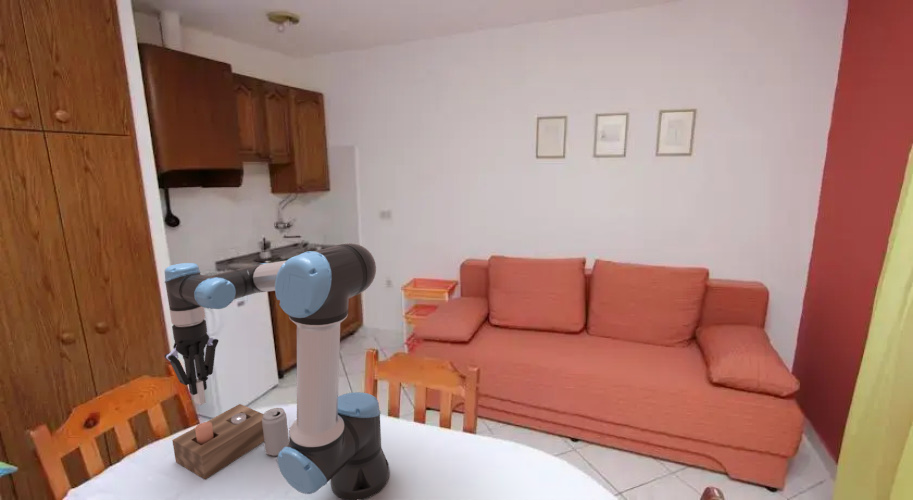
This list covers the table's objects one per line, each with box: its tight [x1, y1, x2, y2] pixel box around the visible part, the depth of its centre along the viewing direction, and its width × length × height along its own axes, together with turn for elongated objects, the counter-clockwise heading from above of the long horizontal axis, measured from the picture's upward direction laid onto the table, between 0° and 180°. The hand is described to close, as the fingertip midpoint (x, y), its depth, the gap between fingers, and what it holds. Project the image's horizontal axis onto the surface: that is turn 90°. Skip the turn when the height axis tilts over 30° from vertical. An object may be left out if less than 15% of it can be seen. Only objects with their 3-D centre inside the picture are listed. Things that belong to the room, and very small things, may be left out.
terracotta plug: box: [194, 421, 214, 445], centre depth 114 cm, size 4×4×6 cm
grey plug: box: [231, 413, 246, 425], centre depth 123 cm, size 4×4×6 cm
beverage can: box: [262, 407, 289, 457], centre depth 118 cm, size 6×6×12 cm
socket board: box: [172, 403, 265, 480], centre depth 119 cm, size 14×20×7 cm
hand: (200, 402), depth 112 cm, fingers closed
